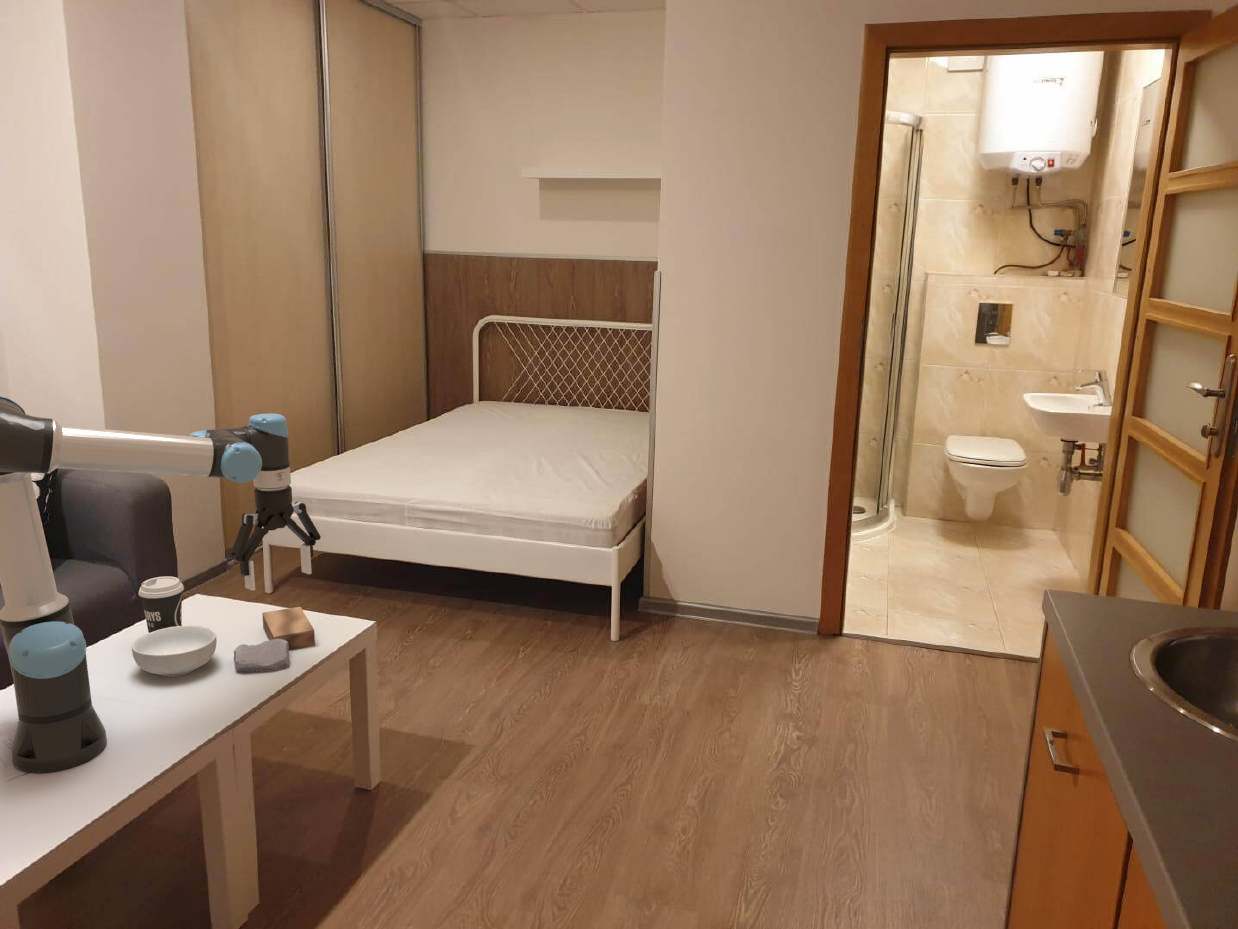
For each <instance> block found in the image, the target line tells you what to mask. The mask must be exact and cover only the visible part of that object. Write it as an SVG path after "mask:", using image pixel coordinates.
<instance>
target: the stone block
mask: <svg viewBox="0 0 1238 929" xmlns="http://www.w3.org/2000/svg"><path fill="white" fill-rule="evenodd" d="M288 649H289V646H288V642H287V641H285V640H282V639H273V640H269V639H268V640H264V641H262V642H261V643H258V644H250V645H248V644H244V643H243V644H239V645H238V646H237V647H236V648H235V649H234V650H233V661H234V668H235V669H234V670H235V671H236V672H239V673H242V672H269V671H271V672H272V671H273V672H274V671H278V670H282V669H286V668H289V667H290V665H291V660H290V656H289V651H288Z"/></svg>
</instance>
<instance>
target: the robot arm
mask: <svg viewBox="0 0 1238 929" xmlns="http://www.w3.org/2000/svg"><path fill="white" fill-rule="evenodd" d="M289 438H290V435H289V428H288V423H287V418H286V417H285V416H284V415H282V414H279V413H270V412H269V413H259V414H253V415H251V416H250V417H249V420H248V424H247V425H244V426H241V427H229V428H215V429H207V428H206V429H204V430H199V431H193V432H191V433H190V434H189V435H181V434H179V435H178V434H177V435H176V434H167V433H166V434H165V433H155V432H145V431H133V430H132V431H131V430H130V431H129V430H122V429H121V430H120V429H119V430H118V429H106V428H96V427H86V426H85V427H83V426H73V425H61V424H59V423H58V421H57V420H55V419H54V418H47V417H40V416H39V417H37V416H32V415H29V414H26V411H25V410H24V408H22V406H21V405H20V404H18V403H17V402H16V401H14V400H12V399H11V398H9V397H6V396H2V395H0V586H1V592H2V596H3V599H4V606H3V607H2V608H1V609H0V628H1V632H2V636H3V643H4V647H5V651H6V653H7V655H8V656H7V657H8V662H9V665H10V671H11V675H12V680H13V687H14V694H15V700H16V701H15V702H16V709H17V716H18V723H17V727H16V731H15V734H14V738H13V742H12V747H11V758H12V764H13V766H14V767H15V768H16V769H18V770H20V771H23V772H26V773H33V774H34V773H36V774H37V773H39V774H40V773H50V772H58V771H62V770H66V769H69V768H74V767H77V766H80V765H82V764H84V763H86V762H88V761H90V760H92V759H93V758H95V757H97V755H100V753H101V752H103V751H104V749H105V747H106V746H107V743H108V739H107V731H106V727H105V726H104V724H103V722H102V721H101V718H100V717H99V715H98V714H97V712H96V710H95V708H94V707H93V704H92V694H91V693H92V692H91V688H90V687H91V686H90V684H91V683H90V678H89V669H88V660H87V642H86V639H85V638H84V634H83V631H82V630H81V629H80V627H78V626H77V625H75V623H74V622H75V621H74V618H73V614H72V608H71V605H70V604H71V603H70V600H69V598H68V596H67V595H65V594H62V593H60V592H59V591H58V588H57V584H56V580H55V574H54V572H53V571H54V570H53V567H52V562H51V558H50V552H49V549H48V548H49V547H48V545H47V541H46V535H45V532H44V527H43V523H42V518H41V515H40V514H41V513H40V509H39V505H38V501H37V496H36V493H35V492H36V491H35V487H34V484H33V479H32V474H51V473H53V471H55V470H56V469H63V470H80V471H82V470H84V471H99V472H100V471H101V472H115V473H117V472H118V473H135V474H150V475H152V474H153V475H170V476H189V477H204V478H205V477H206V478H216V479H217V478H218V479H226V480H229V481H230V482H234V483H238V484H245V483H249V482H251V481H253V486H254V488H255V489H254V490H253V493H254V504H255V508H256V511H255V512H254V513H247V512H244V513H242V514H241V525H240V527H239V529H238V534H237V536H236V538H235V541H234V544H233V546H232V548H231V552H230V554H229V557H230V559H232V560H234V561H237V562H239V567H240V568H239V570H240V574H241V575H242V576H244V587H245V589H247V590H250V591H256V582H255V581H256V580H255V569H254V568H255V567H254V560H252V559H251V558H252V557H253V555H254V553H255V552H256V550H257V549H258V546H260V543H261V542H262V540H263V539H264V537H265V536H266V535H267V534H268V533H269V532H270V531H271V532H272V531H276V530H277V529H283V528H284V529H285V528H286V527H287V528H288V529H290V531H291V532H292V533H293V534H294V535H295V536H297V538H299V539H300V540H301V541H302V543H299V550H300V566H301V567H300V569H301V573H304V574H306V575H311V574H312V561H311V560H312V559H313V557H314V546H316V543H317V542H316V541H319V540H321V538H322V537H321V534H320V533H319V531H318V529H317V527H316V525H315V524H314V523H313V522H314V521H312V518H311V517H310V516H309V513H308V511H307V507H306V504H305V503H304V502H301V501H298V500H297V501H295V502H294V504H292V503H293V492H292V490H293V488H292V487H291V484H292V478H291V463H290V441H289ZM294 513H295V514H296V516H297V518H298V519H299V520H300V522H301V523H302V525H303V527H304V530H303V529H302V528H301V526H299V525H298V524H297V522H296V521H295V520H294V519H293V518H292V515H293V514H294ZM256 521H257V523H256ZM255 524H256V525H255ZM254 525H255V526H254ZM253 526H254V530H253ZM305 530H306V531H305ZM252 531H253V532H252Z"/></svg>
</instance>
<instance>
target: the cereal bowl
mask: <svg viewBox="0 0 1238 929" xmlns="http://www.w3.org/2000/svg"><path fill="white" fill-rule="evenodd" d="M216 649H217V634H216V632H215V631H214V630H213V629H211V628H209V627H206V626H201V625H199V626H198V625H182V626H176V627H169V628H164V629H160V630H156V631H153V632H150V633H149V632H147V633H146V634H143V635H142V636H139V637H138V638H137V639H135V640H134V641H133V643H132V644H131V653H132V657H133V660H134V662H135V664H136V665H137V666H138V667H139V668H140V669H141V670H143V671H144V672H145V671H146V672H147V673H150V674H153V675H154V674H156V675H160V676H161V677H167V678H170V677H171V678H172V677H179V676H183V675H187V674H190V673H191V672H193V671H194V670H196V669H197V668H200V667H202V666H203V665H205V664H206V663H207V662H209V661H210V659H212V657H213V656H214V654H215V652H216Z"/></svg>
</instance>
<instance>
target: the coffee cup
mask: <svg viewBox="0 0 1238 929" xmlns="http://www.w3.org/2000/svg"><path fill="white" fill-rule="evenodd" d="M184 590H185V586H184V584H183V583H182V582H181V581H180V579H179V578H178V577H175V576H170V575H169V576H158V577H153V578H149V579H146V580H145V581H143V582H142V583H141V586H140V587H139V590H138V596H139V597H140V598H141V602H142V607H143V613H144V616H145V621H146V625H147V631H148V632H147V633H150V632H153V631H156V630H160V629H164V628H169V627H176V626H183V625H182V617H183V616H182V614H183V613H182V612H183V611H182V607H183V606H182V605H183V603H182V602H183V599H182V598H183V591H184Z"/></svg>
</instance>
